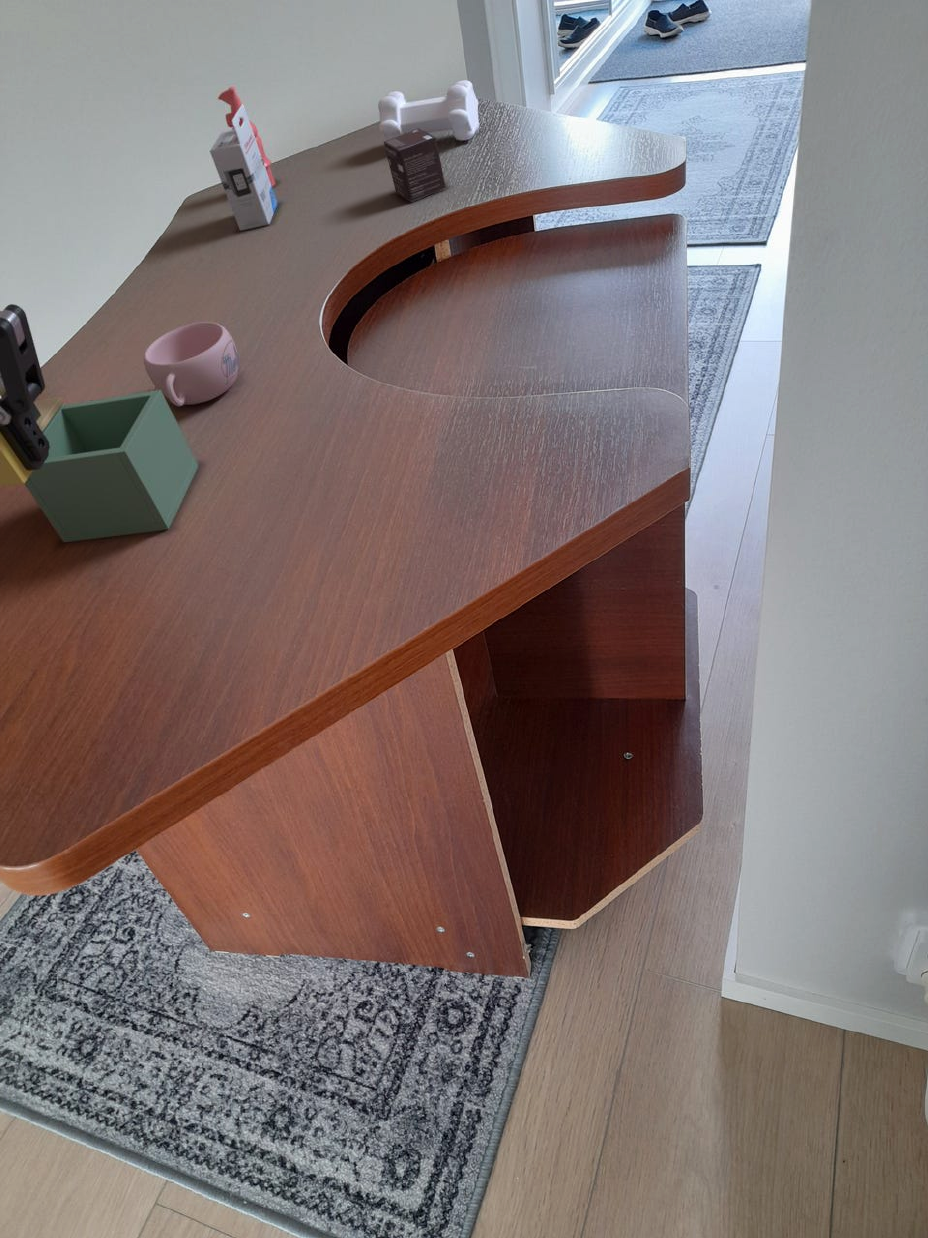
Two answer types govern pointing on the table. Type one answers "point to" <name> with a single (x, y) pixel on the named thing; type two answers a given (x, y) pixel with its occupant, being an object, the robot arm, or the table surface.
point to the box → (415, 165)
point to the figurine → (235, 103)
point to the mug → (193, 363)
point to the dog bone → (431, 113)
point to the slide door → (45, 410)
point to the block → (11, 466)
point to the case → (113, 467)
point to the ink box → (244, 174)
